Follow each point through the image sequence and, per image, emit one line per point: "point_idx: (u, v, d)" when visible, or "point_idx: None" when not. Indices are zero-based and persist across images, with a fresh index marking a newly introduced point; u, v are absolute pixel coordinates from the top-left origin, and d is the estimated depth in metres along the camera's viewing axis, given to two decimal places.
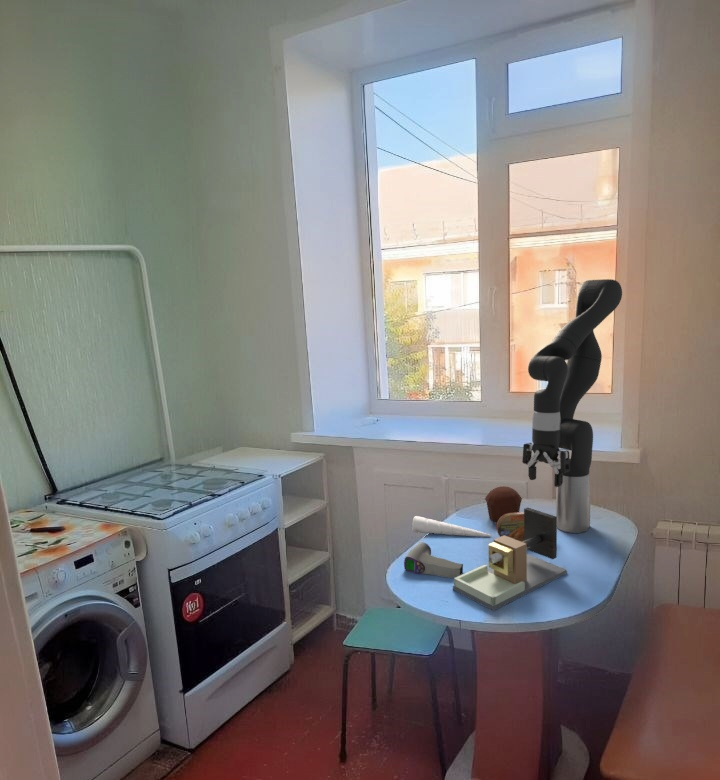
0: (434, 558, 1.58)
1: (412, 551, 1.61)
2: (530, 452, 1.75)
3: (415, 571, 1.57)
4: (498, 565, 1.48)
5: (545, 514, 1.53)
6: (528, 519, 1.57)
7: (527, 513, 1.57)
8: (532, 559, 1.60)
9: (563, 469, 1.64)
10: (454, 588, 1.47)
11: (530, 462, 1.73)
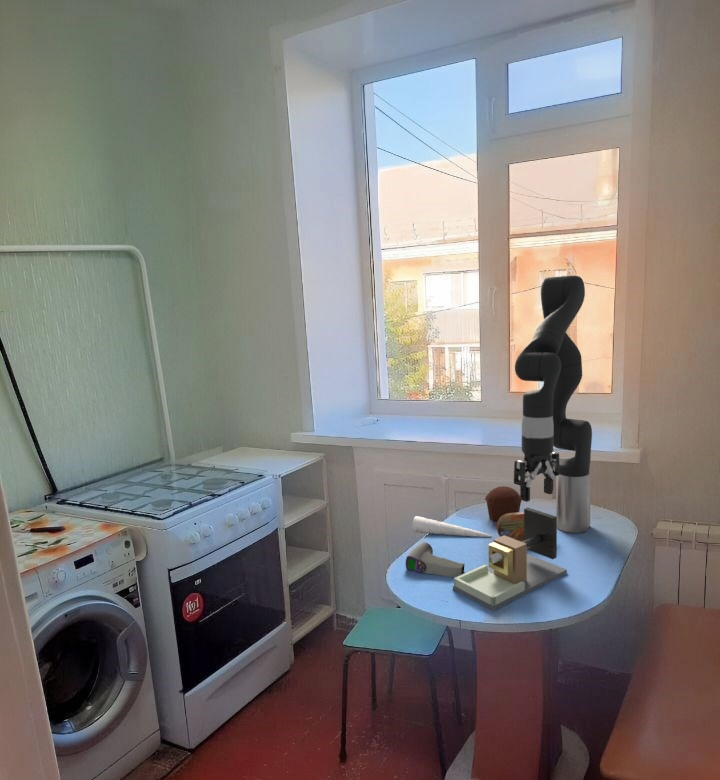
0: (435, 558, 1.58)
1: (414, 550, 1.61)
2: None
3: (416, 570, 1.58)
4: (498, 565, 1.48)
5: (545, 514, 1.53)
6: (528, 519, 1.57)
7: (527, 513, 1.57)
8: (532, 559, 1.60)
9: (558, 471, 1.52)
10: (454, 588, 1.47)
11: (529, 481, 1.46)
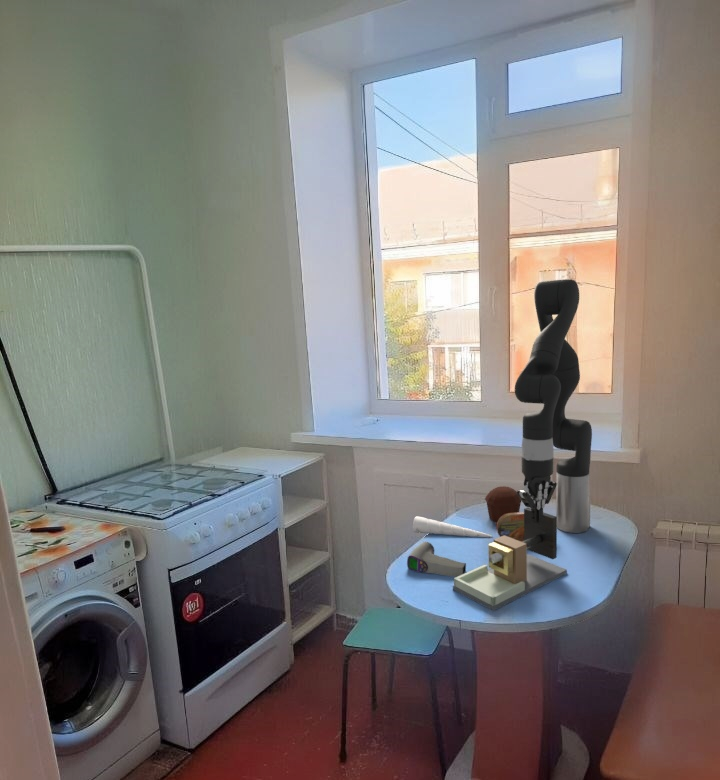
0: (437, 557, 1.59)
1: (415, 550, 1.61)
2: None
3: (418, 569, 1.58)
4: (498, 565, 1.48)
5: (545, 514, 1.53)
6: (528, 519, 1.57)
7: (527, 513, 1.57)
8: (532, 559, 1.60)
9: (548, 499, 1.50)
10: (454, 588, 1.47)
11: (538, 503, 1.48)
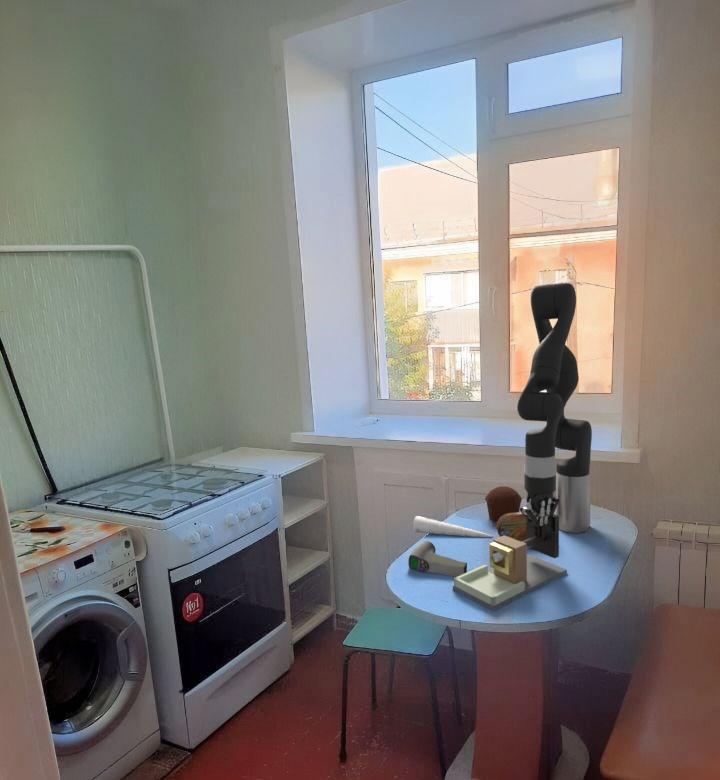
0: (438, 557, 1.59)
1: (416, 549, 1.62)
2: None
3: (419, 569, 1.58)
4: (499, 565, 1.48)
5: None
6: None
7: None
8: (532, 559, 1.60)
9: (551, 515, 1.51)
10: (454, 588, 1.47)
11: (541, 520, 1.49)
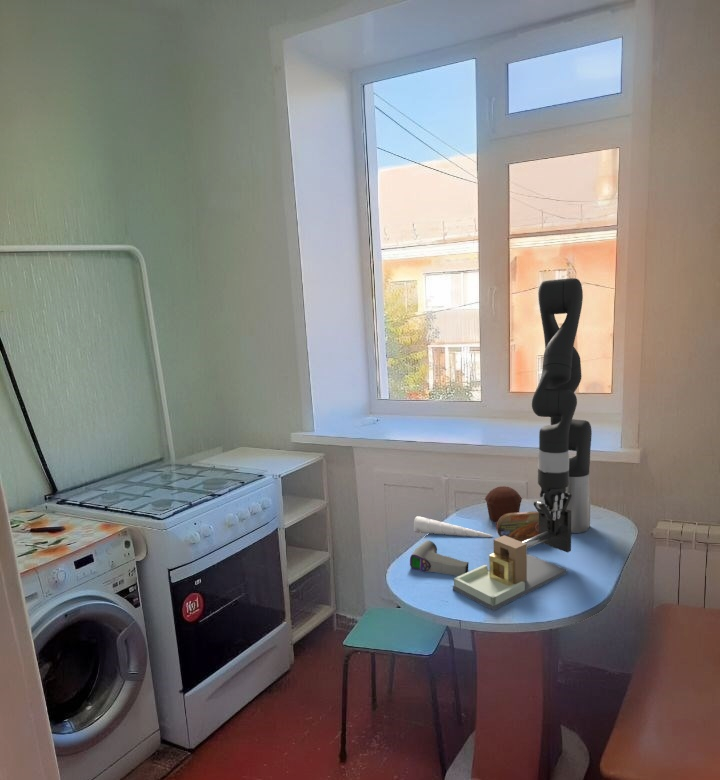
0: (440, 556, 1.59)
1: (418, 549, 1.62)
2: None
3: (421, 568, 1.58)
4: (499, 576, 1.48)
5: None
6: None
7: None
8: (532, 559, 1.60)
9: (563, 510, 1.54)
10: (454, 588, 1.47)
11: (554, 514, 1.52)
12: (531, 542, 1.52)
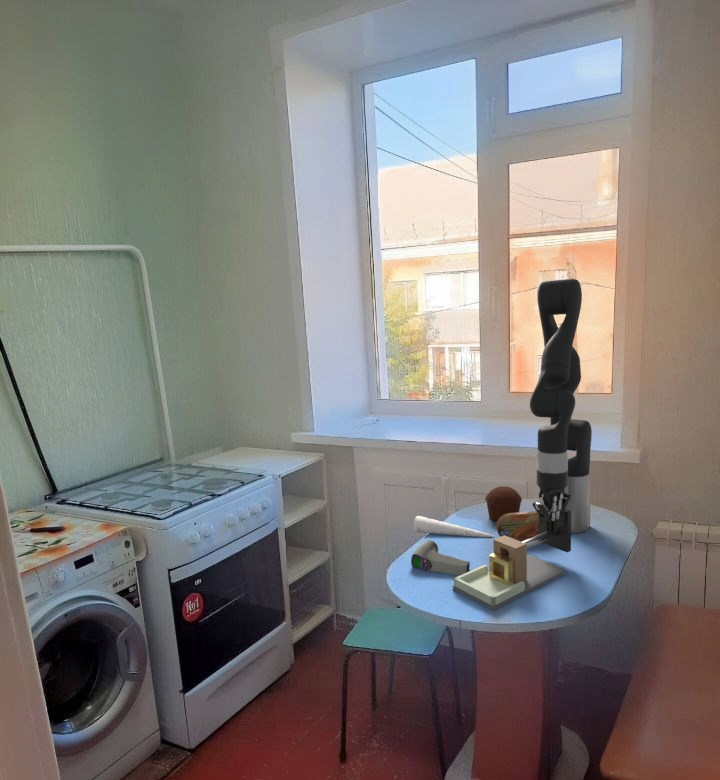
0: (441, 556, 1.60)
1: (419, 548, 1.62)
2: None
3: (422, 568, 1.59)
4: (499, 576, 1.48)
5: None
6: None
7: None
8: (532, 559, 1.60)
9: (562, 510, 1.54)
10: (454, 588, 1.47)
11: (553, 515, 1.52)
12: (530, 542, 1.52)
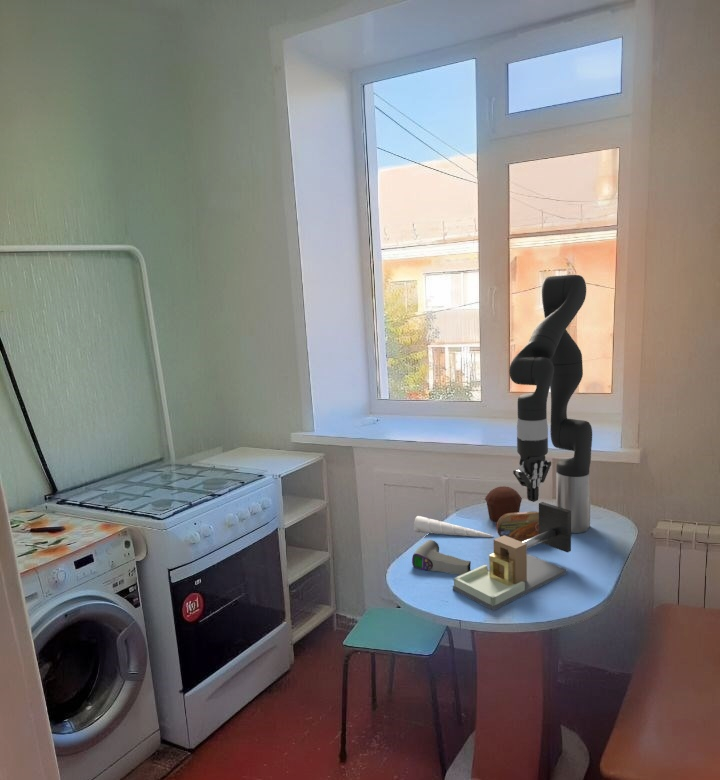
0: (442, 555, 1.60)
1: (420, 548, 1.62)
2: None
3: (423, 567, 1.59)
4: (499, 576, 1.48)
5: (560, 508, 1.57)
6: (543, 513, 1.61)
7: (542, 507, 1.61)
8: (532, 559, 1.60)
9: (543, 478, 1.55)
10: (454, 588, 1.47)
11: (534, 482, 1.52)
12: (530, 542, 1.52)
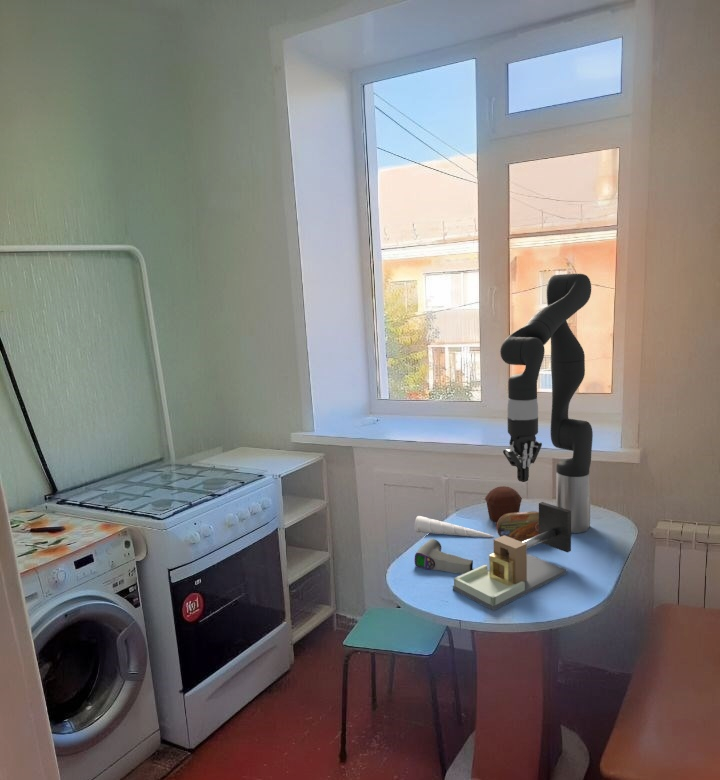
0: (444, 554, 1.60)
1: (422, 547, 1.63)
2: None
3: (425, 566, 1.59)
4: (499, 576, 1.48)
5: (560, 508, 1.57)
6: (543, 513, 1.61)
7: (542, 507, 1.61)
8: (532, 559, 1.60)
9: (534, 458, 1.55)
10: (454, 588, 1.47)
11: (524, 462, 1.53)
12: (530, 542, 1.52)
